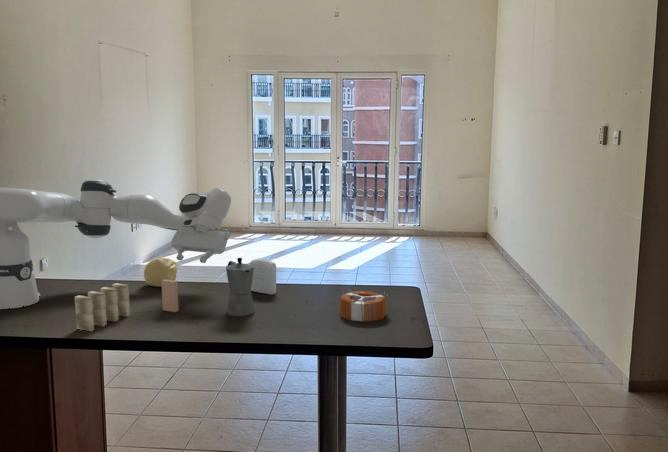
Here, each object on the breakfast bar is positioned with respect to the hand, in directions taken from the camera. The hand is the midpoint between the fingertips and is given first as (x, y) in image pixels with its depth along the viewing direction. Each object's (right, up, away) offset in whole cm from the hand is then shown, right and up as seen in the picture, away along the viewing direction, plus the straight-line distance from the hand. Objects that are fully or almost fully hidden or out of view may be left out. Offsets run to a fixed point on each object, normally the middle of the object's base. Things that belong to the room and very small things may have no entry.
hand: (190, 260), depth 195 cm
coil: (+58, -17, -11) cm, 61 cm away
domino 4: (-18, -16, -13) cm, 28 cm away
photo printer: (+23, -12, +14) cm, 30 cm away
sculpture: (-17, -11, +23) cm, 30 cm away
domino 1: (-24, -19, -27) cm, 40 cm away
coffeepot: (+18, -16, -8) cm, 26 cm away
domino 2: (-22, -18, -22) cm, 36 cm away
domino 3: (-20, -17, -18) cm, 32 cm away
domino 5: (-4, -16, -8) cm, 18 cm away
